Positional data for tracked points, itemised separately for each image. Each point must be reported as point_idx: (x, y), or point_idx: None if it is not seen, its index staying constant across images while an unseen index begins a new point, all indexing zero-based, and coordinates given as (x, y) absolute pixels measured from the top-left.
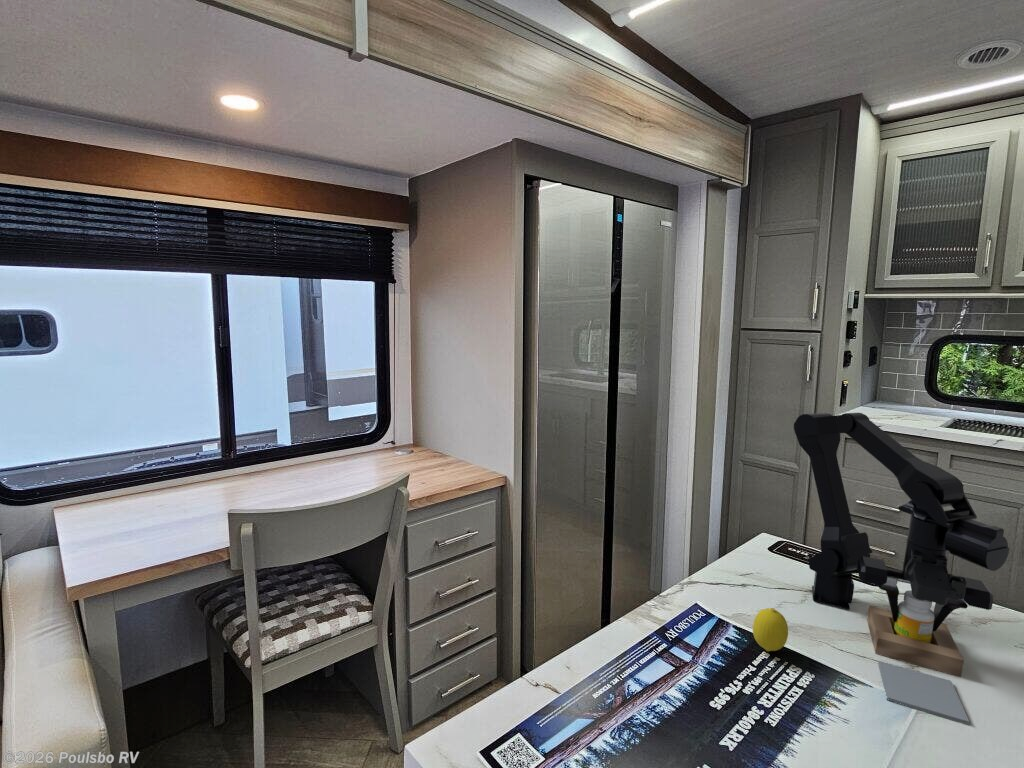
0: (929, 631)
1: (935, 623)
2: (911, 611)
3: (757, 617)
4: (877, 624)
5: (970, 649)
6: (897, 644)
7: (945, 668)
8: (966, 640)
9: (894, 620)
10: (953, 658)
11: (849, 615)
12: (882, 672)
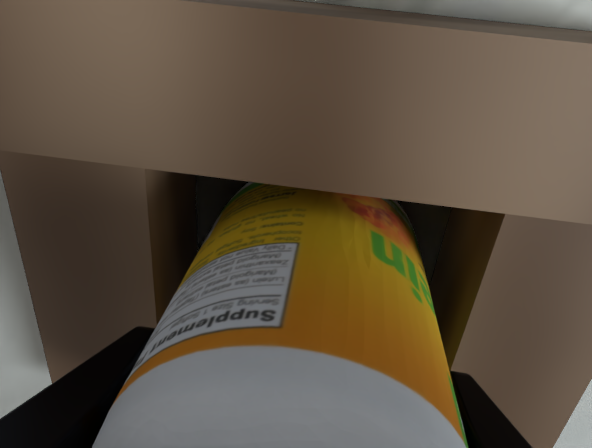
0: (188, 289)
1: (107, 384)
2: None
3: None
4: (587, 328)
5: (4, 329)
6: (551, 39)
7: None
8: (19, 394)
9: (466, 379)
10: None
11: (570, 444)
12: None
